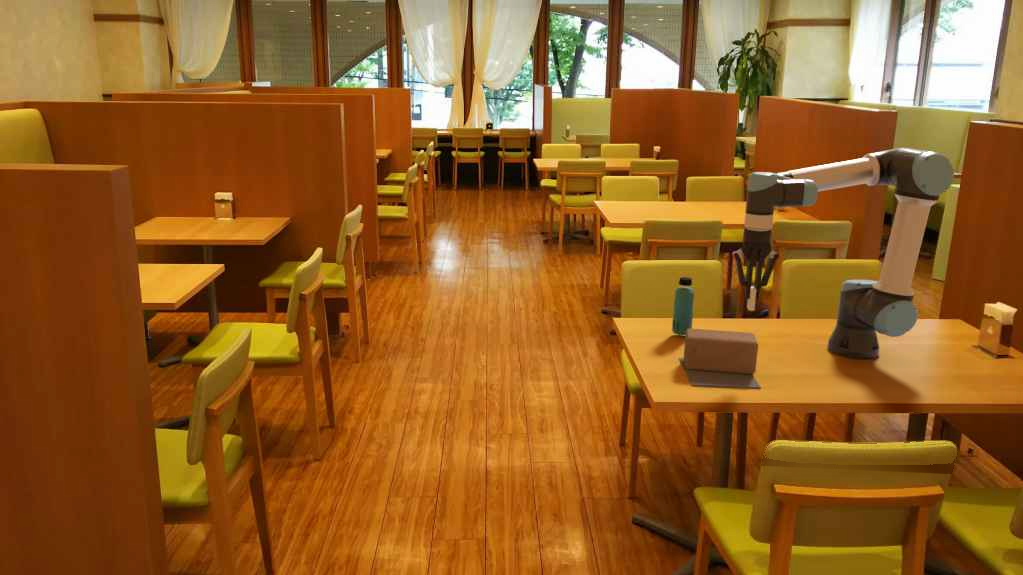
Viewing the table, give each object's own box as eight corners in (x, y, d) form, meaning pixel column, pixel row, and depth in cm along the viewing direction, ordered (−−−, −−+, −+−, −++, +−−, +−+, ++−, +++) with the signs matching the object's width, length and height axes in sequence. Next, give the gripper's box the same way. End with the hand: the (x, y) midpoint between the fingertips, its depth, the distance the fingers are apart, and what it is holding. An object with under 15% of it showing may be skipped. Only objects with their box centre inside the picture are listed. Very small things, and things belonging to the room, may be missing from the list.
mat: (742, 361, 248) (742, 360, 248) (760, 388, 227) (760, 387, 227) (679, 358, 249) (679, 357, 248) (691, 385, 227) (691, 384, 227)
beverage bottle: (694, 336, 271) (699, 277, 266) (686, 341, 265) (692, 281, 260) (675, 332, 274) (680, 274, 269) (667, 337, 269) (672, 278, 263)
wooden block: (758, 342, 233) (687, 337, 236) (755, 375, 235) (684, 370, 238) (754, 332, 242) (686, 327, 245) (751, 364, 245) (683, 358, 248)
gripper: (777, 226, 232) (770, 306, 238) (731, 225, 232) (724, 305, 238) (785, 231, 224) (777, 313, 231) (737, 230, 225) (730, 312, 231)
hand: (750, 309), depth 234 cm, fingers closed
